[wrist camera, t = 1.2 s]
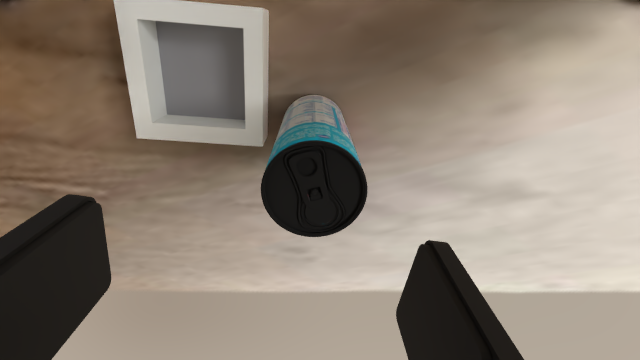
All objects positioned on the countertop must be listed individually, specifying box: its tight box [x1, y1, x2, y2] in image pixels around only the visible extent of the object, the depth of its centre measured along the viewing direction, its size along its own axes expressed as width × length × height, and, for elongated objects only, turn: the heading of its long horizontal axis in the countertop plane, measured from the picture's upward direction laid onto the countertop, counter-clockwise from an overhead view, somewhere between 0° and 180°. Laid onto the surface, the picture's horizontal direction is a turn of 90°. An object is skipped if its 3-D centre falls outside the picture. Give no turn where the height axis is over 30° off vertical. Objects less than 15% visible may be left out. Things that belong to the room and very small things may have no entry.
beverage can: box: [261, 95, 367, 237], centre depth 24 cm, size 6×6×15 cm
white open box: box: [114, 0, 269, 147], centre depth 19 cm, size 11×18×18 cm, turn 176°
